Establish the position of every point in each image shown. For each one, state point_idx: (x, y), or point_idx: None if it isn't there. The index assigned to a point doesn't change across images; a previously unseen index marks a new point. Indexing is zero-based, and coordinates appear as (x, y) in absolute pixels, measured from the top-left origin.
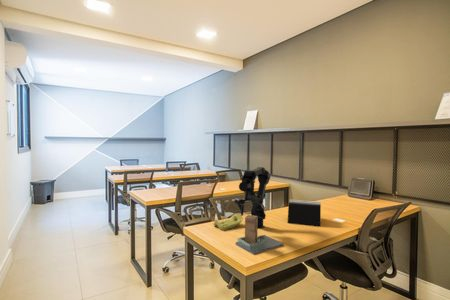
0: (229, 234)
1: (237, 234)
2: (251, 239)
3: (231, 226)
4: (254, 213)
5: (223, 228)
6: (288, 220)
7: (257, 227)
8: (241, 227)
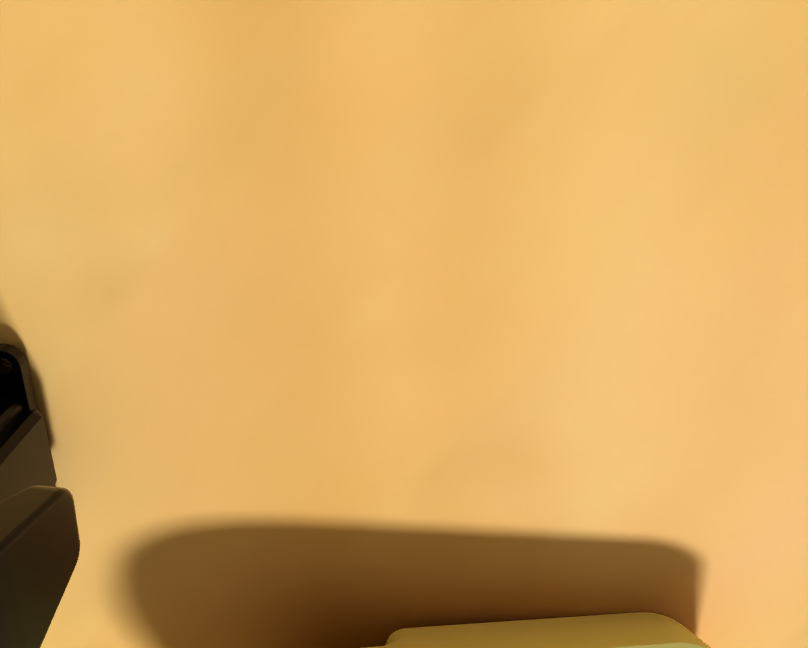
0: (760, 398)
1: (641, 315)
2: None
3: (501, 634)
4: (48, 486)
5: (684, 630)
6: None
7: (15, 373)
8: (300, 558)
